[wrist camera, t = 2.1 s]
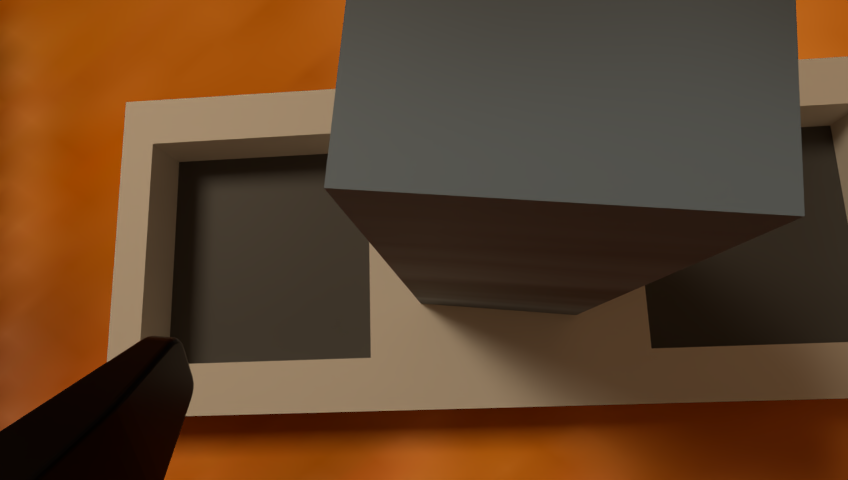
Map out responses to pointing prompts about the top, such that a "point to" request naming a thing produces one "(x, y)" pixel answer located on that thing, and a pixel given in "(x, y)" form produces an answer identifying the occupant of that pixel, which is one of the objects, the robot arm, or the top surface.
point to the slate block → (563, 141)
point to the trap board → (440, 324)
